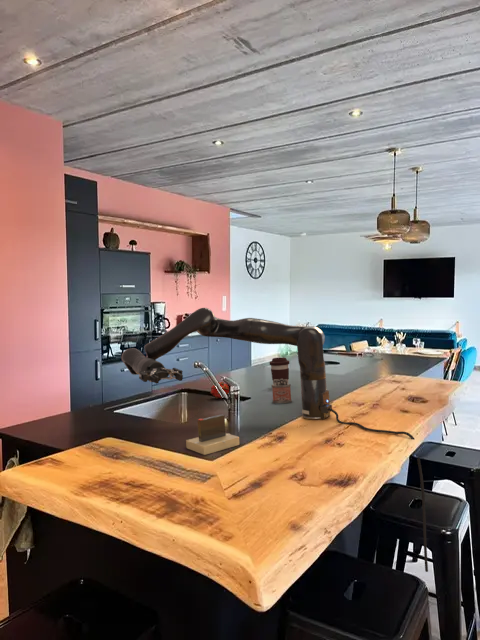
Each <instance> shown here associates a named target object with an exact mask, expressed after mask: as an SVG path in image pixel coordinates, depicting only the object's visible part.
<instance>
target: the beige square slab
mask: <svg viewBox="0 0 480 640" xmlns="http://www.w3.org/2000/svg"><path fill="white" fill-rule="evenodd" d="M185 442H186V443H185V445H186V446H185V447H186V449H188V450H189V451H193V452H196V453H198V454H200V455H203V456H207V455H209V454H213V453H217V452H219V451H223V450H227V449H231V448H234V447H237V446H240V437H239V436H238V435H235V434H231V433H230V432H229V433H227V432H226V436H223V437H219V438H215V439H212V440H208V441H204V442H200V441H199V436H198V437H197V436H196V437H193V438H189V439H185Z"/></svg>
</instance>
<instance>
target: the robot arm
mask: <svg viewBox="0 0 480 640" xmlns="http://www.w3.org/2000/svg"><path fill="white" fill-rule="evenodd" d="M195 332H196V333H198V334H199V335H200V336H203V337H207V338H225V339H232V340H237V341H243V342H248V343H255V344H260V345H261V344H262V345H289V346H295V347H296V350H297V361H298V365H299V373H300V375H299V376H300V392H301V393H300V394H301V407H302V408H301V413H302V418H303V419H306V420H325V419H327V418H328V417H330V416H331V412H332V413H333V414H334V415H335V420H336V422H337V423H339V424H342V425H349V426H351V425H353V426H357V427H359V428H361V429H363V430H365V431H368V432H373V433H384V434H393V435H407V436H408V437H409V438H410V439H411V440H415V437H414V436H413V435H412V434H411V433H410V432H408V431H395V430H385V429H376V428H375V429H374V428H369V427H366V426H363V425H362V424H360V423H358V422H354V421H346V422H345V421H341V420H340V418H339V413H338V412H337V411H335V410H334V409H333V404H331V403H330V391H329V389H327V374H326V362H325V357H324V344H325V341H326V336H325V333H324V332H323V330H322V329H320V328H319V327H318V326H313V325H292V324H291V325H290V324H285V323H281V322H277V321H273V320H268V319H264V318H263V319H262V318H256V317H245V318H240V319H239V318H238V319H235V320H229V319H223V318H219V317H216V315H215V314H214V311H212V310H211V309H210V308H208V307H200V308H198V309H196V310H195V311H193V312H192V313H191V314H190V315H187V317H186V318H184V319H183V320H182V321H180V322H179V323H177V324H176V325H175V326H174V327H173V328H171V329H170V330H168V331H167V332H165V333H163V334H162V335H160V336H158V337H157V338H154V339H153V340H151V341H150V342H148V343H146V344H145V345H144V351H145V354H146V356H145V355H144V354H143V353H142V352H141V351H140V350H139V349H137V348H135V347H131V348H130V347H129V348H127V349H125V350H124V351H123V352H122V354H121V361H122V363H123V364H124V365H125V367H126V369H127V370H128V371H129V373H130V374H131V375H134V376H138V379H139V380H141V382H144V383H147V382H149V383H154V384H159V383H160V381H162V380H170V381H171V380H176V381H179V382H182V381H183V380H184V375H183V370H181V369H180V368H176V367H173V368H166V367H165V366H164V364H163V363H162V362H161V361H158V359H159V358H161V357H164V356H165V355H167V354H168V353H170V352H172V350H173V349H175V348H176V347H177V346H178V344H180V342H182V340H183V339H185V338H186V337H187V336H189V335H190V334H192V333H195ZM416 461H417V466H418V473H419V480H420V481H419V482H420V491H421V492H420V493H421V506H422V508H421V509H422V531H423V532H422V533H423V534H422V535H423V556H424V557H423V558H424V559H423V560H424V570H425V573H429V563H428V547H427V546H428V545H427V517H426V515H427V513H426V497H425V495H426V494H425V484H424V476H423V470H422V469H423V468H422V463H421V458H420V457H418V458H417V459H416Z"/></svg>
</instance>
